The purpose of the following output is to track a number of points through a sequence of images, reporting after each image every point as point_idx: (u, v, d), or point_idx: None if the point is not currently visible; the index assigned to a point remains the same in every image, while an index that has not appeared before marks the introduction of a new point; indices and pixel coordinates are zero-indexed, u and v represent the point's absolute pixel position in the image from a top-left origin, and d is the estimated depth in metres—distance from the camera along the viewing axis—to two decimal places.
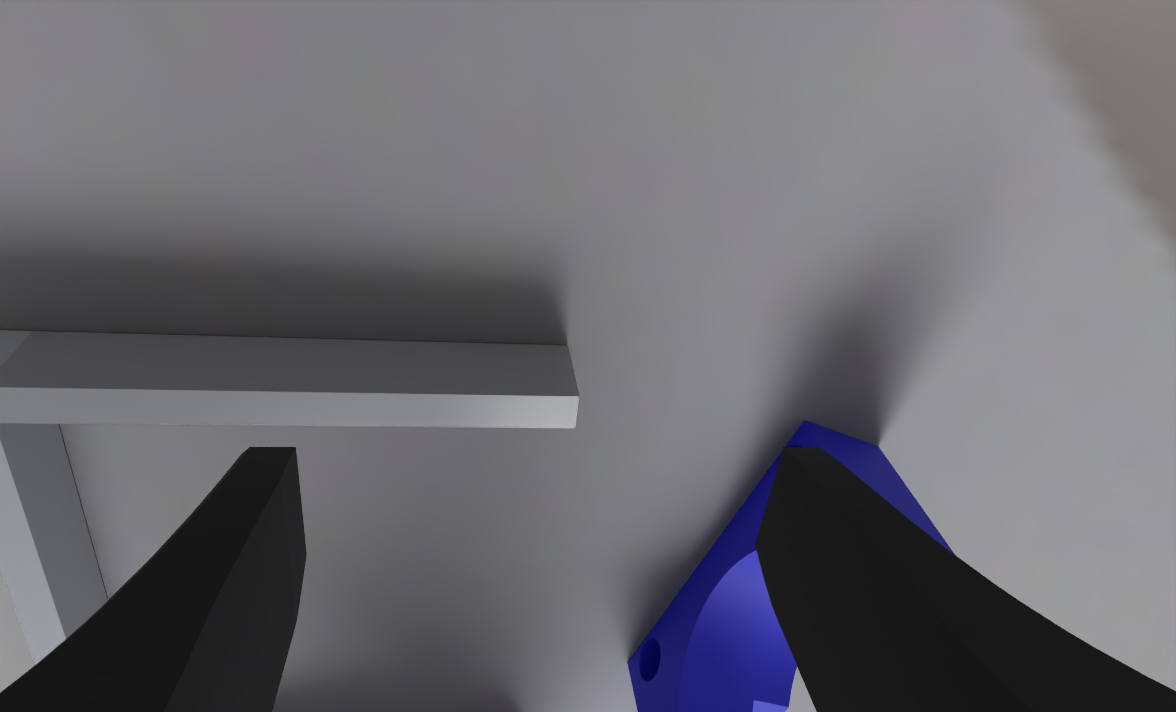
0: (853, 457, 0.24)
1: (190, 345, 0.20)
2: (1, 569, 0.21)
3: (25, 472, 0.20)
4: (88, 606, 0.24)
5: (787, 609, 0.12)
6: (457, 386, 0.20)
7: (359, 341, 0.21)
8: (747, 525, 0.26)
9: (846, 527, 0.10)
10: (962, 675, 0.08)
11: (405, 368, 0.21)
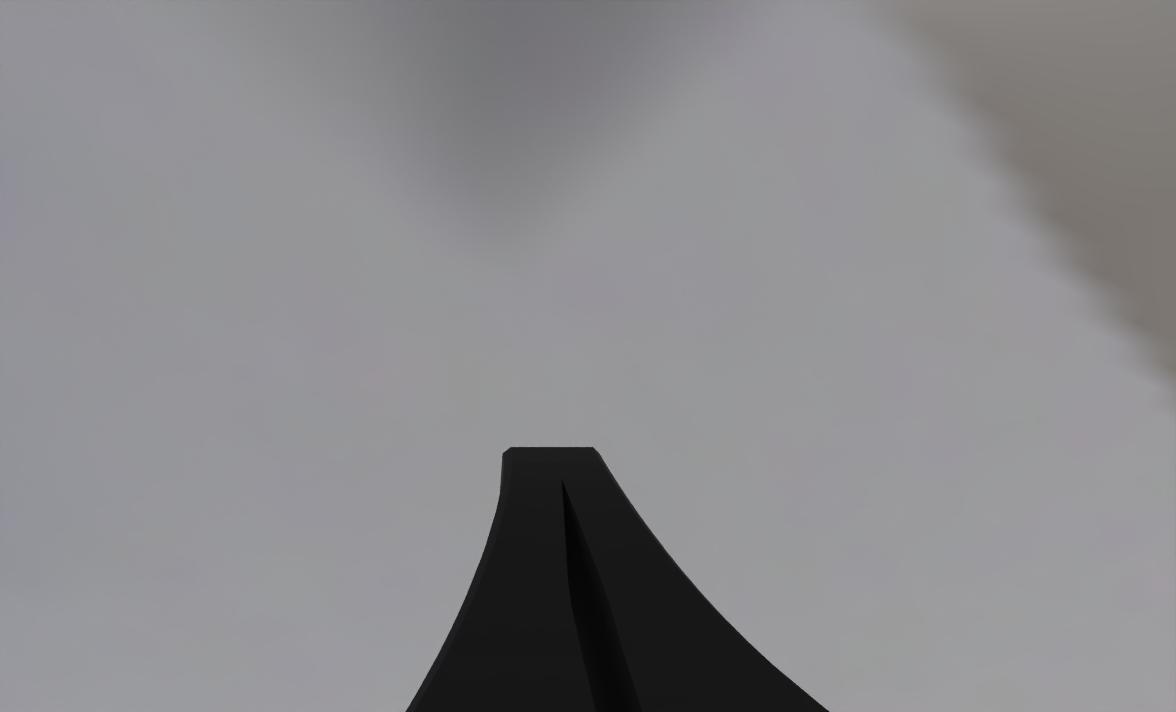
0: None
1: None
2: None
3: None
4: None
5: None
6: None
7: None
8: None
9: (576, 532, 0.10)
10: (624, 693, 0.08)
11: None
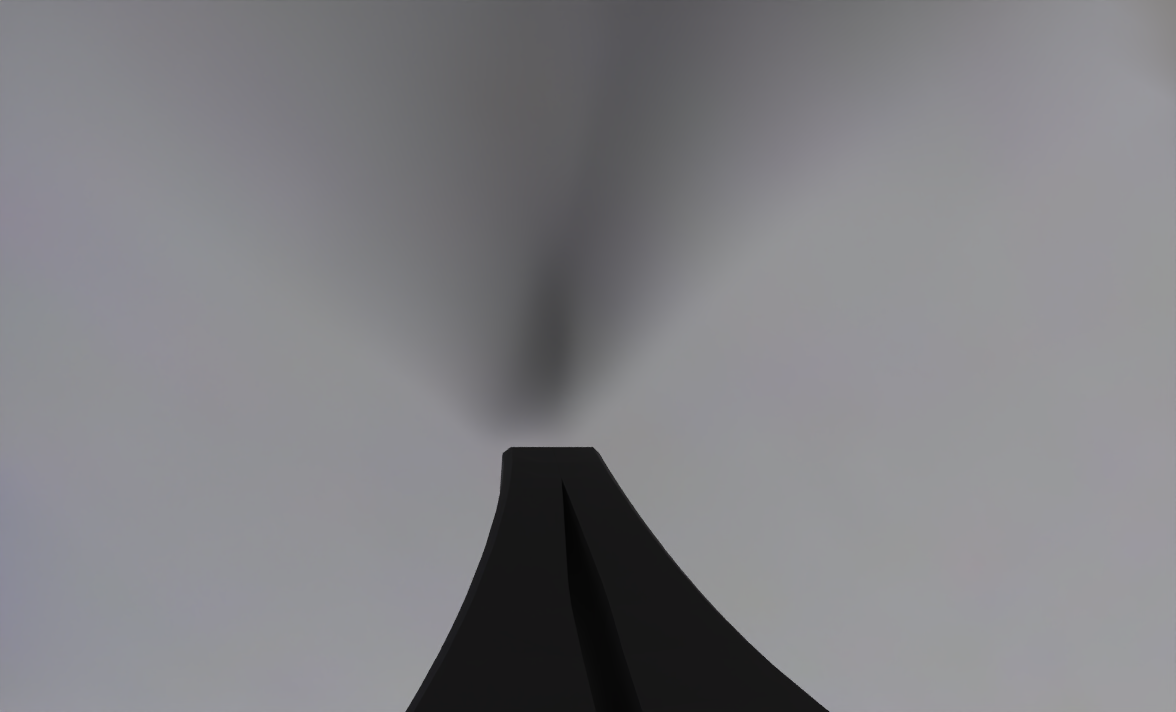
0: None
1: None
2: None
3: None
4: None
5: None
6: None
7: None
8: None
9: (577, 532, 0.10)
10: (623, 693, 0.08)
11: None
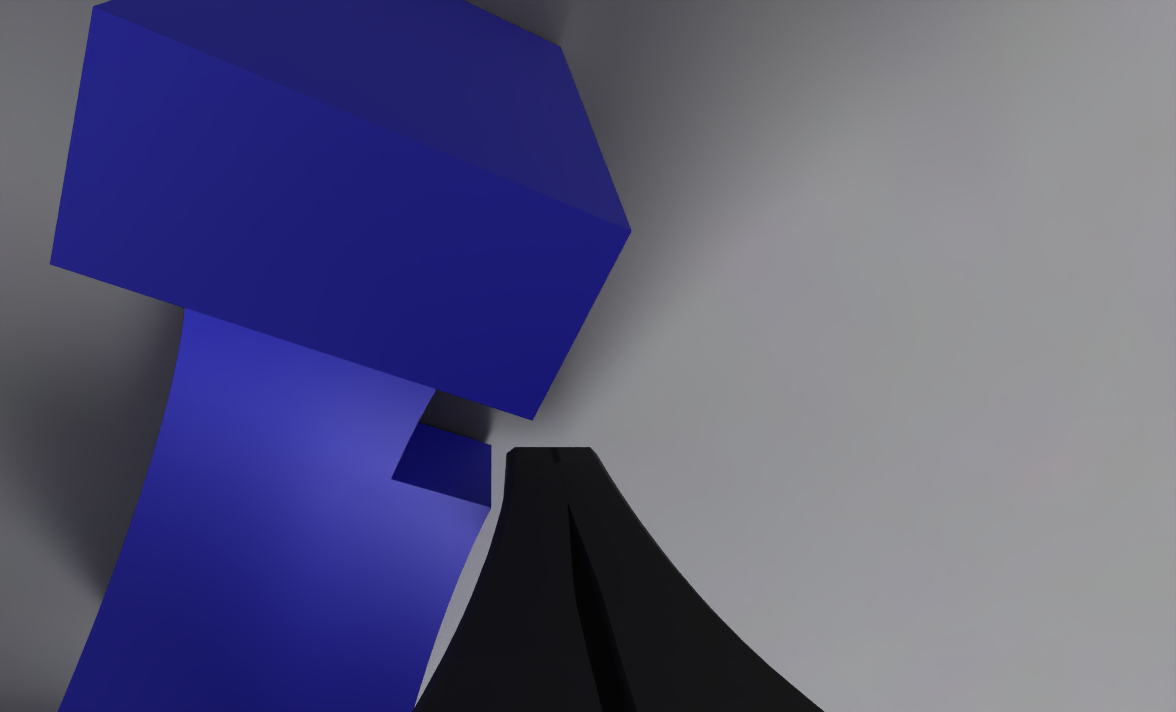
0: (418, 1, 0.08)
1: None
2: None
3: None
4: None
5: None
6: None
7: None
8: None
9: (573, 533, 0.10)
10: (619, 694, 0.08)
11: None
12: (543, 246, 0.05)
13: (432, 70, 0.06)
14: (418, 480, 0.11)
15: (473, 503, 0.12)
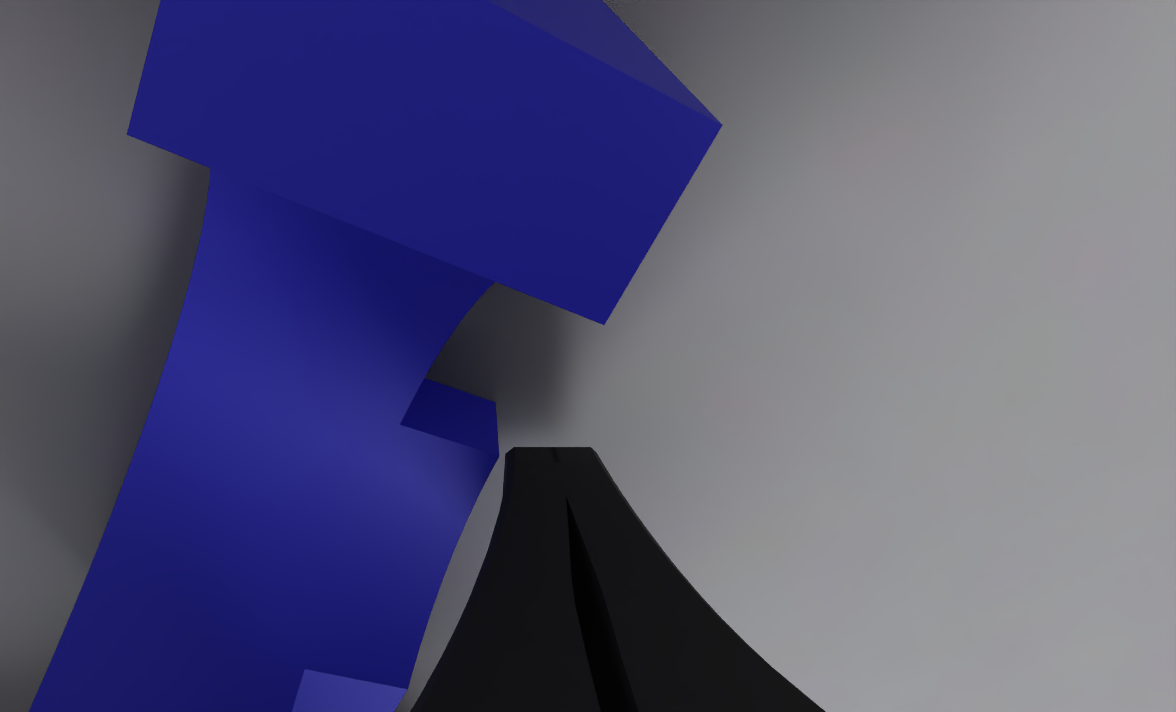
0: None
1: None
2: None
3: None
4: None
5: None
6: None
7: None
8: None
9: (574, 532, 0.10)
10: (620, 694, 0.08)
11: None
12: (633, 137, 0.05)
13: None
14: (426, 427, 0.11)
15: (482, 451, 0.12)
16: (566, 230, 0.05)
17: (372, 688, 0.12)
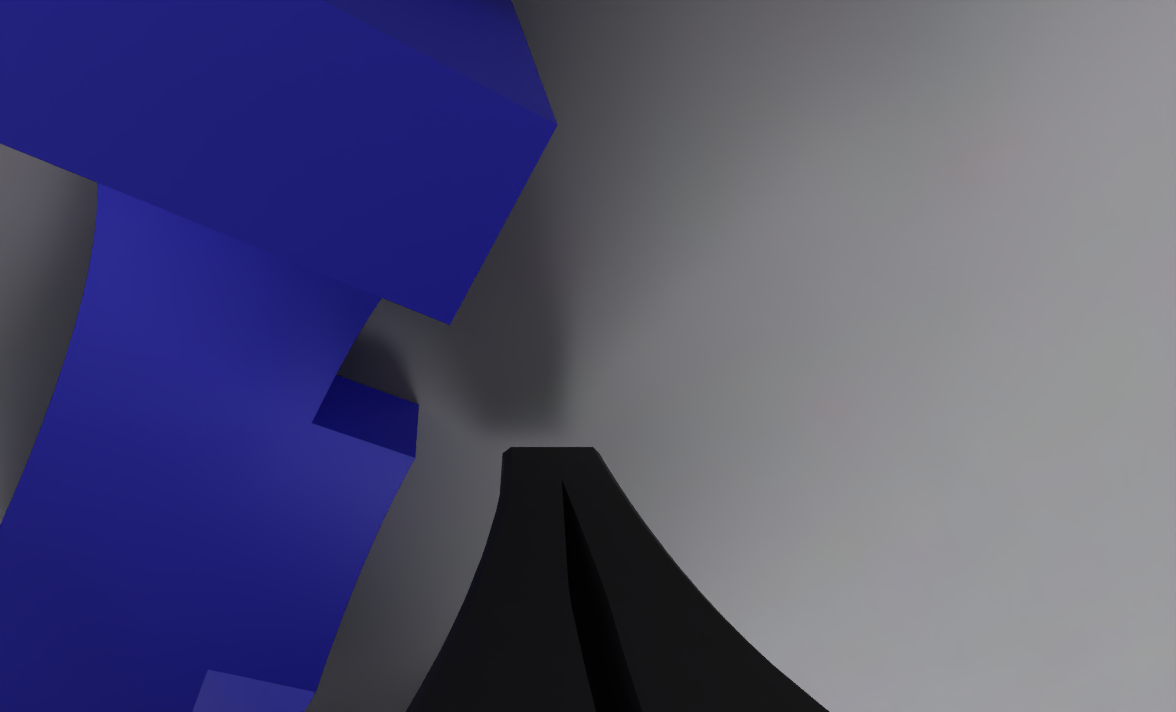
0: None
1: None
2: None
3: None
4: None
5: None
6: None
7: None
8: None
9: (577, 532, 0.10)
10: (624, 693, 0.08)
11: None
12: (464, 133, 0.05)
13: None
14: (340, 426, 0.11)
15: (397, 452, 0.11)
16: (402, 226, 0.05)
17: (279, 690, 0.11)
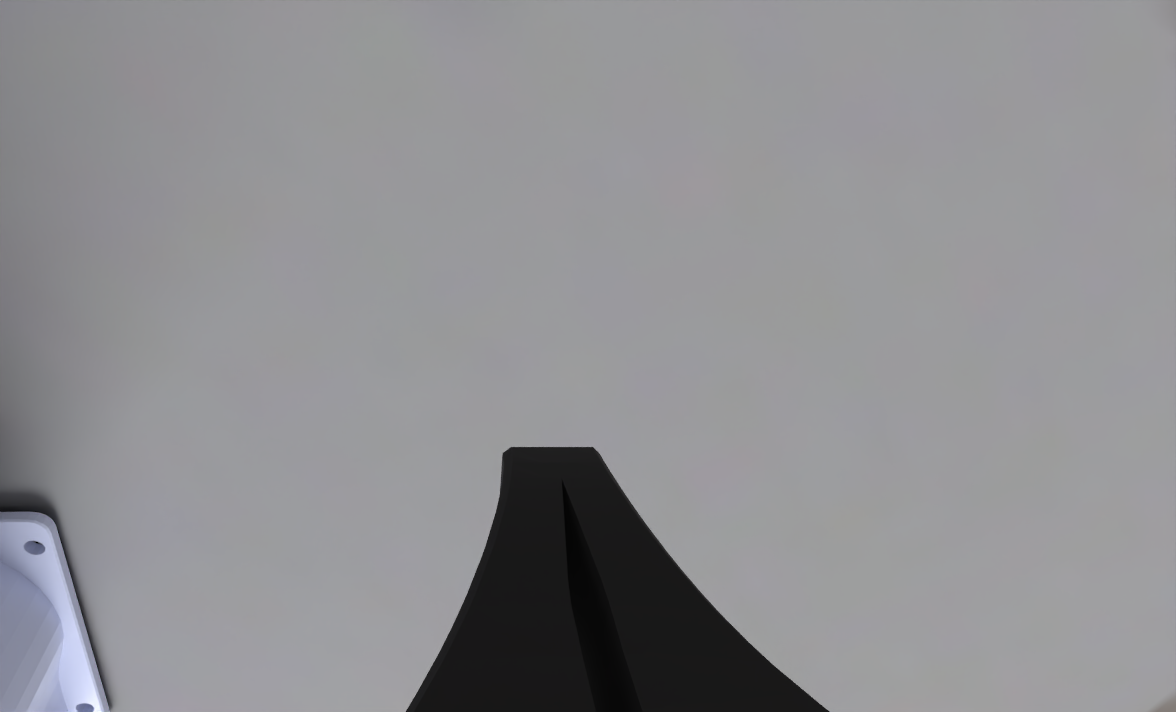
0: None
1: None
2: None
3: None
4: None
5: None
6: None
7: None
8: None
9: (576, 532, 0.10)
10: (624, 693, 0.08)
11: None
12: None
13: None
14: None
15: None
16: None
17: None
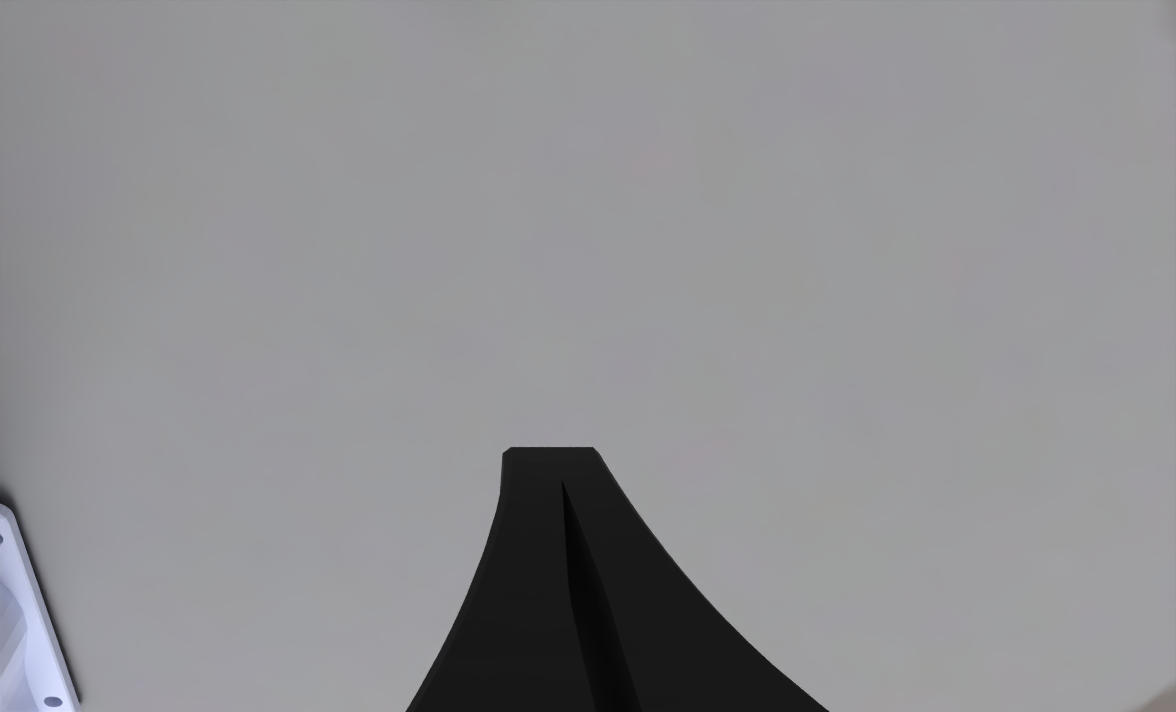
0: None
1: None
2: None
3: None
4: None
5: None
6: None
7: None
8: None
9: (576, 532, 0.10)
10: (624, 694, 0.08)
11: None
12: None
13: None
14: None
15: None
16: None
17: None
